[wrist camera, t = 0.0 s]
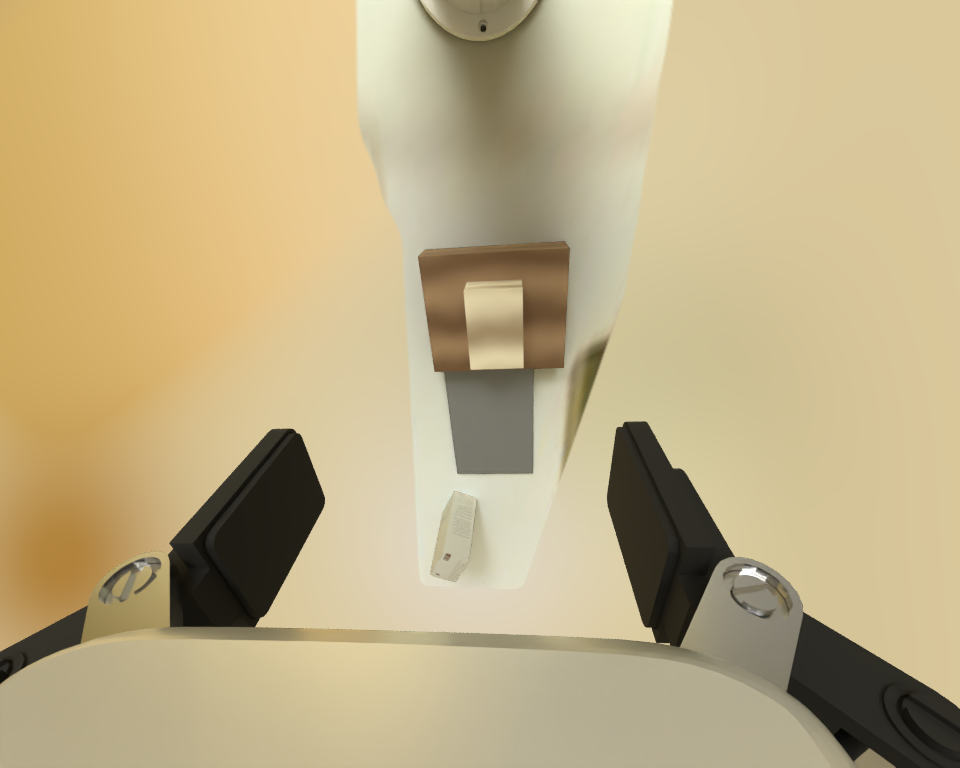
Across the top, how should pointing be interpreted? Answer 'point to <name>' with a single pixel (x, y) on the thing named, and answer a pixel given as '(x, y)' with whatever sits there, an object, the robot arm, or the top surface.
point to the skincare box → (454, 537)
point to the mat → (491, 420)
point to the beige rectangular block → (494, 324)
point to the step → (527, 262)
